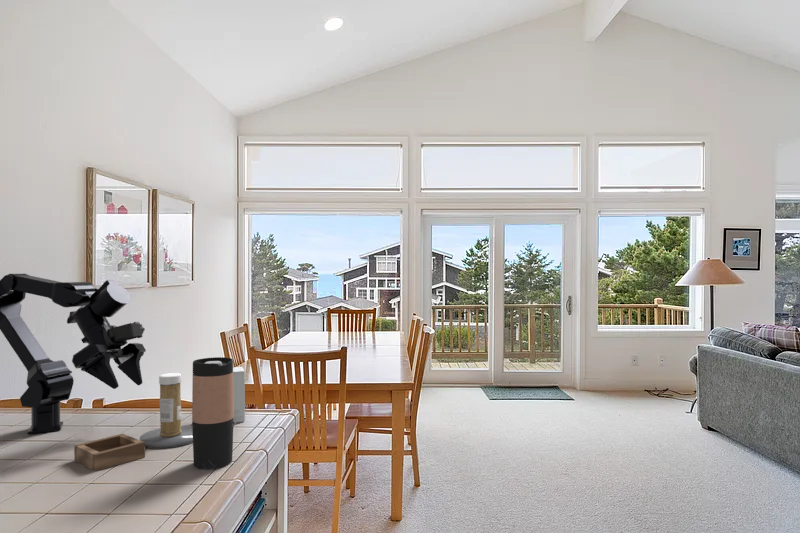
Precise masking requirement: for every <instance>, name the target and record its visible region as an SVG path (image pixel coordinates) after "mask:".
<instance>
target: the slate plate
mask: <svg viewBox="0 0 800 533" xmlns="http://www.w3.org/2000/svg"><path fill="white" fill-rule="evenodd" d="M160 430H161V429H160V428H156V429H152V430H149V431H146V432H144V433H143V434H141V435H140V436H139V440H140V441H143V442H145V448H147V449H148V448H149V449H172V448H177V447H183V446H188V445H191V444H193V430H192V425H181V430H182V432H181V434H179V435H177V436H173V437H162V436H161V435H160Z"/></svg>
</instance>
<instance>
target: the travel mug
mask: <svg viewBox="0 0 800 533" xmlns="http://www.w3.org/2000/svg"><path fill="white" fill-rule="evenodd" d="M233 367H234V359H233V358H231V357H225V356H224V357H221V356H220V357H205V358H199V359H195V360H193V362H192V384H191V385H192V390H191V391H192V394H191V395H192V399H191V400H192V402H191V403H192V407H191V408H192V410H191V413H192V414H191V417H192V418H191V419H192V420H191V421H192V422H191V424H192V425H191V426H192V430H193V443H192V452H193V454H192V455H193V456H192V457H193V466H194V468H196V469H199V470H216V469H220V467H221V468H224V467H226V465H227V466H228V464H229V465H230V464H232V462H233V453H234V452H233V446H234V423H233V421H234V418H233V417H234V407H233ZM223 466H224V467H223Z"/></svg>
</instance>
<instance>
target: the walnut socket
mask: <svg viewBox="0 0 800 533" xmlns="http://www.w3.org/2000/svg"><path fill="white" fill-rule="evenodd" d="M73 449H74V451H73V452H74V454H73V455H74V457H73V458H74V460H73V461H75V462H77V463H78V464H80V465H83V466H85V467H87V468H89V469H90V470H93V471H95V472H97V471H101V470H105V469H108V468H111V467H116V466H120V465H122V464H126V463H129V462H133V461H137V460H141V459H143V458H146V447H145V442H143V441H140V439H138V438H135V437H132V436H129V435H127V434H125V433H120V434H117V435H112V436H111V435H110V436H107V437H104V438H99V439H95V440H91V441H86V442H82V443H78V444H74V448H73Z"/></svg>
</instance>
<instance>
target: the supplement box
mask: <svg viewBox="0 0 800 533" xmlns="http://www.w3.org/2000/svg"><path fill="white" fill-rule="evenodd" d="M245 376H246V374H245V369H244V368H243V366H235V367H234V366H233V407H234V417H233V418H234V421H233V422H236V423H243V422H245V420H246V419H245V418H246V416H245V415H246V412H245V411H246V409H245V408H246V405H245V404H246V403H245V402H246V398H245V396H246V394H245V393H246V392H245V391H246V390H245V388H246V387H245V386H246V382H245V381H246V380H245V378H246V377H245Z"/></svg>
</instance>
